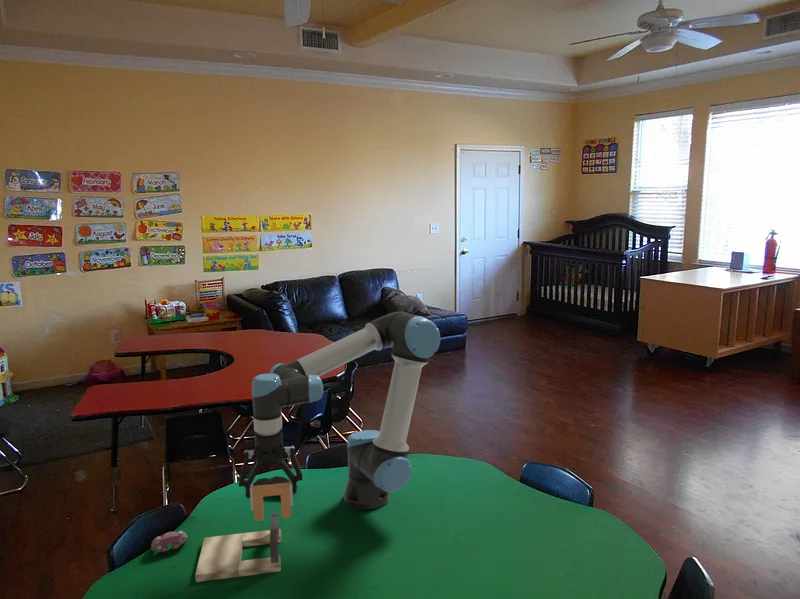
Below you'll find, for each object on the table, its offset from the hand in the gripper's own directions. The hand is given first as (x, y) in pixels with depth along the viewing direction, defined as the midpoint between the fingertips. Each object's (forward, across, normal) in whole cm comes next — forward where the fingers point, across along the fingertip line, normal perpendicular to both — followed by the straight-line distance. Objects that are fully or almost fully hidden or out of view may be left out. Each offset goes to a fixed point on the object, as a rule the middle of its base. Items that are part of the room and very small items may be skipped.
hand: (272, 505), depth 167 cm
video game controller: (+15, +30, -9) cm, 35 cm away
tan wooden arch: (+3, 0, 0) cm, 3 cm away
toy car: (+15, +1, -36) cm, 39 cm away
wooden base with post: (+15, +9, 0) cm, 17 cm away
